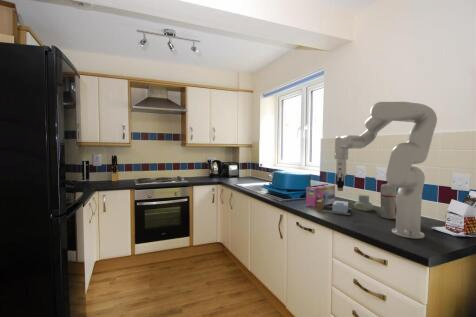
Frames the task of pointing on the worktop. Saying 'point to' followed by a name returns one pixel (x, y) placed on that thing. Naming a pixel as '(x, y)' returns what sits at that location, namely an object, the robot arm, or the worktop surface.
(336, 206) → the block
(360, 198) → the air freshener
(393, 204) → the spray can
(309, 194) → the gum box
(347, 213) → the track board
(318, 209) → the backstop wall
